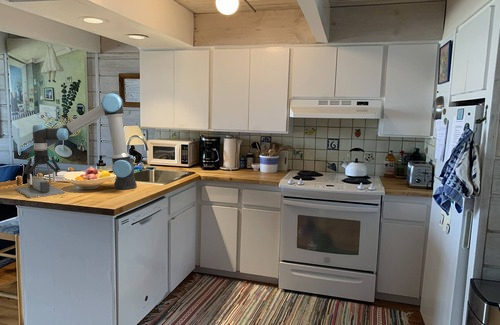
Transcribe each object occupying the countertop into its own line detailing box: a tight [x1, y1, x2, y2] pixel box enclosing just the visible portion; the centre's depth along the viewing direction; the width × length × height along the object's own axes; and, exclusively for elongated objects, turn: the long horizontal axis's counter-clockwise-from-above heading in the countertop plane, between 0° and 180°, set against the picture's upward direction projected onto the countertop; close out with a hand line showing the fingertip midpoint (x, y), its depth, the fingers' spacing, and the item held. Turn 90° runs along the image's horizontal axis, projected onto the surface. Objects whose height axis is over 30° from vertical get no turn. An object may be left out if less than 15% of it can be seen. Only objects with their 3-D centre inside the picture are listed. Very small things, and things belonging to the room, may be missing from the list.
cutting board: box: [15, 184, 66, 199], centre depth 231 cm, size 30×20×1 cm, turn 47°
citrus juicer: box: [32, 160, 52, 184], centre depth 255 cm, size 11×10×30 cm
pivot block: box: [26, 175, 42, 188], centre depth 238 cm, size 5×7×8 cm
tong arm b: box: [32, 178, 46, 192], centre depth 228 cm, size 19×2×6 cm, turn 47°
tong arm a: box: [36, 177, 50, 192], centre depth 230 cm, size 19×2×6 cm, turn 46°
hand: (42, 182), depth 227 cm, fingers open, 13 cm apart
